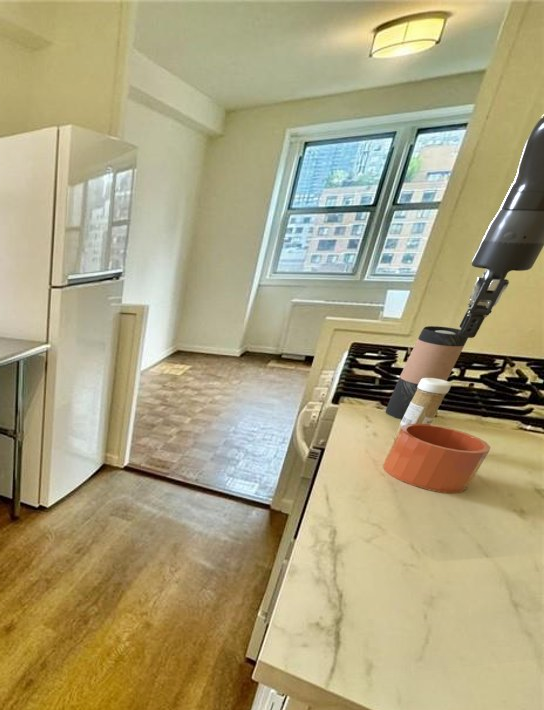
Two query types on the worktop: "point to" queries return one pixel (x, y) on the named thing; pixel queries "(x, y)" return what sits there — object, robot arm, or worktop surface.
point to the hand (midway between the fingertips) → (466, 332)
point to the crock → (435, 457)
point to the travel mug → (426, 364)
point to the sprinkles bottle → (425, 402)
